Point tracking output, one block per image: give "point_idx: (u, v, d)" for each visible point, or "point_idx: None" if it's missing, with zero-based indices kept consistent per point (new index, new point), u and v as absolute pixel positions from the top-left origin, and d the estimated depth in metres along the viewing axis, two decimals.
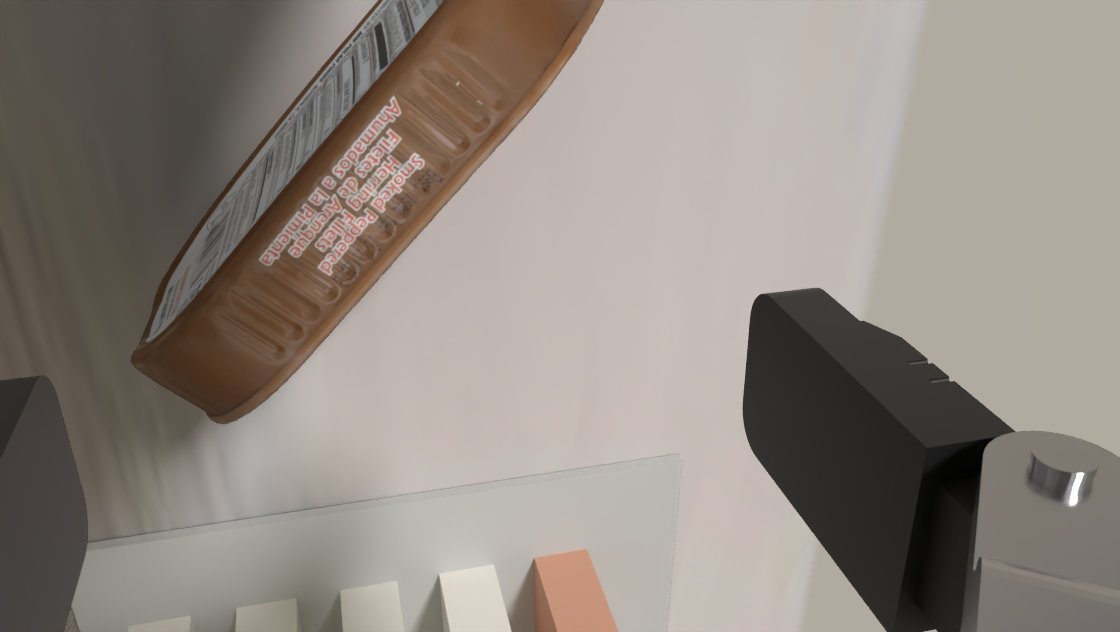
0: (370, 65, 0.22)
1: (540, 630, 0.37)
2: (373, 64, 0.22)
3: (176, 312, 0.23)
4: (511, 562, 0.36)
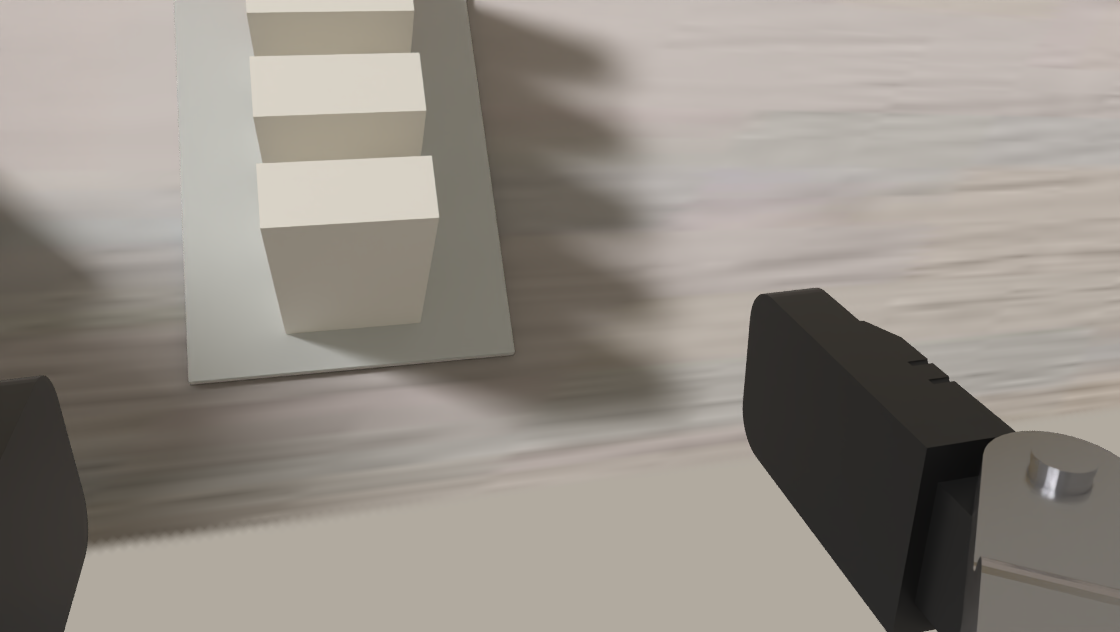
0: None
1: None
2: None
3: None
4: None
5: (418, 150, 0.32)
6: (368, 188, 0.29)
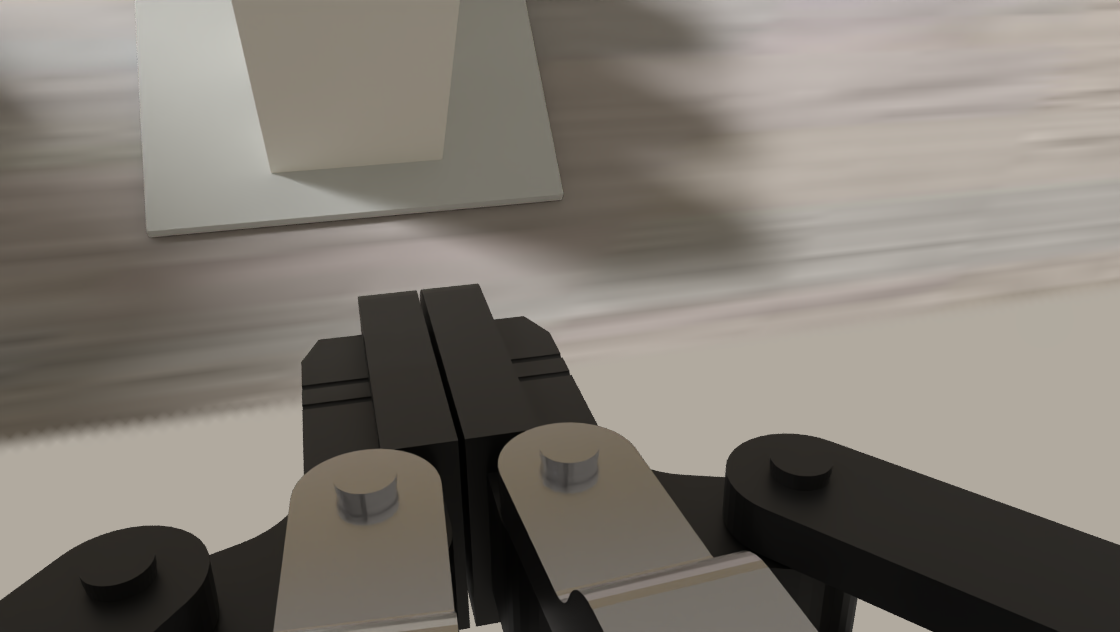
0: None
1: None
2: None
3: None
4: None
5: None
6: None
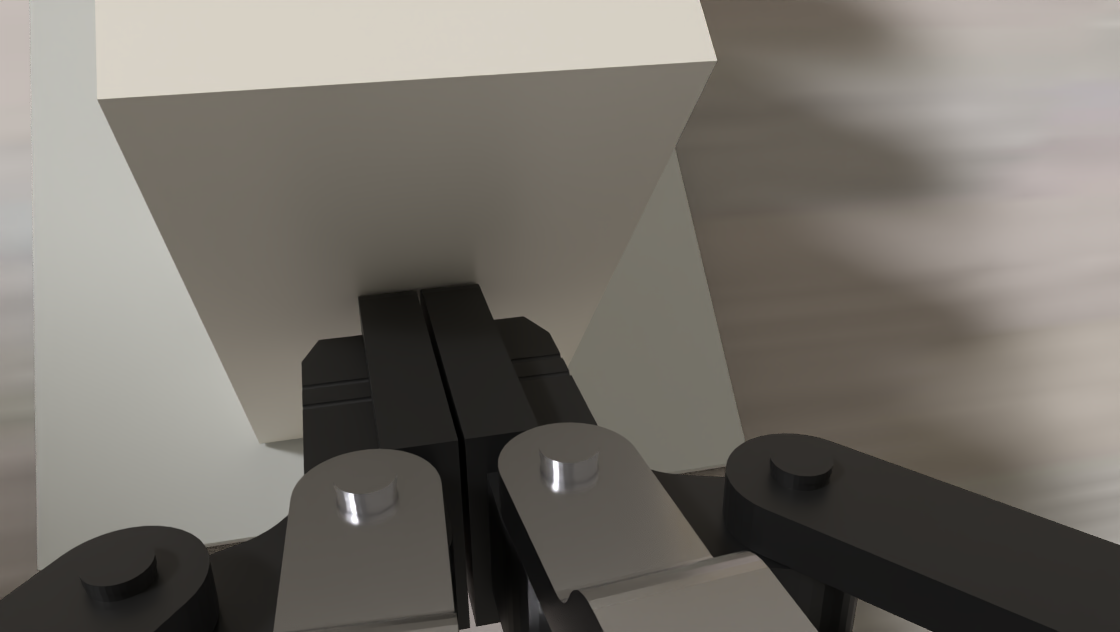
0: None
1: None
2: None
3: None
4: None
5: None
6: None
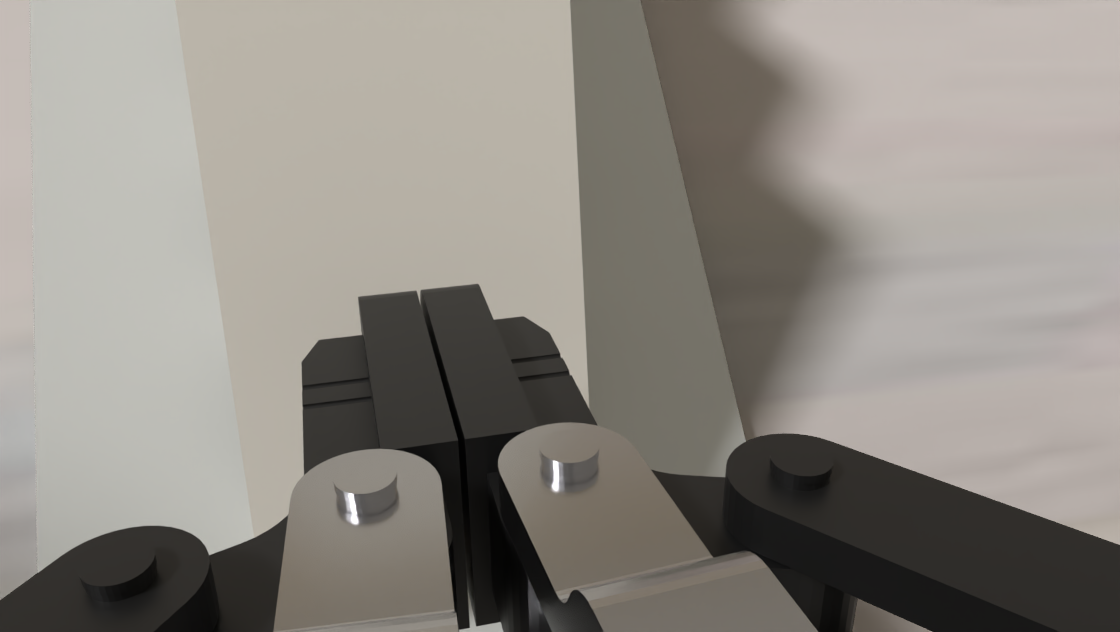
0: None
1: None
2: None
3: None
4: None
5: None
6: None
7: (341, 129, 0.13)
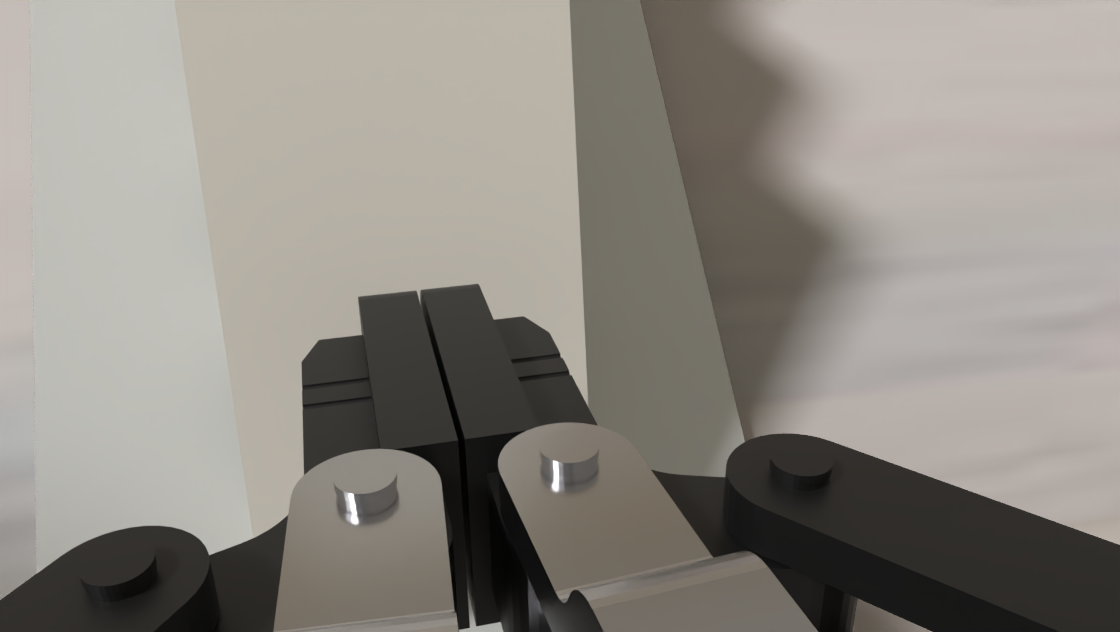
0: None
1: None
2: None
3: None
4: None
5: None
6: None
7: (340, 130, 0.13)
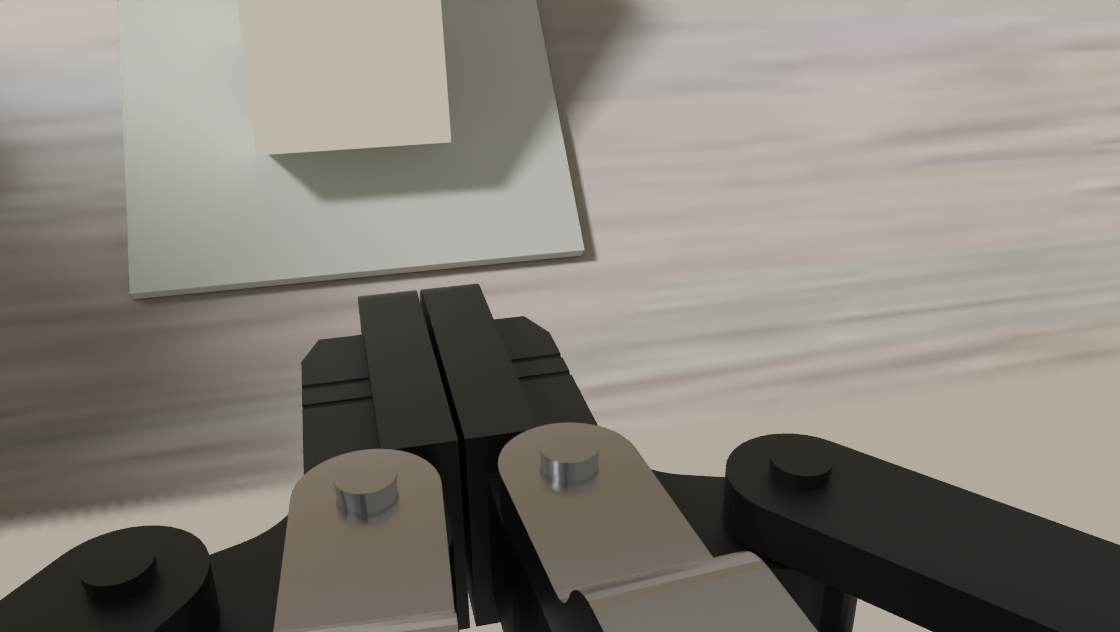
0: None
1: None
2: None
3: None
4: None
5: None
6: None
7: None
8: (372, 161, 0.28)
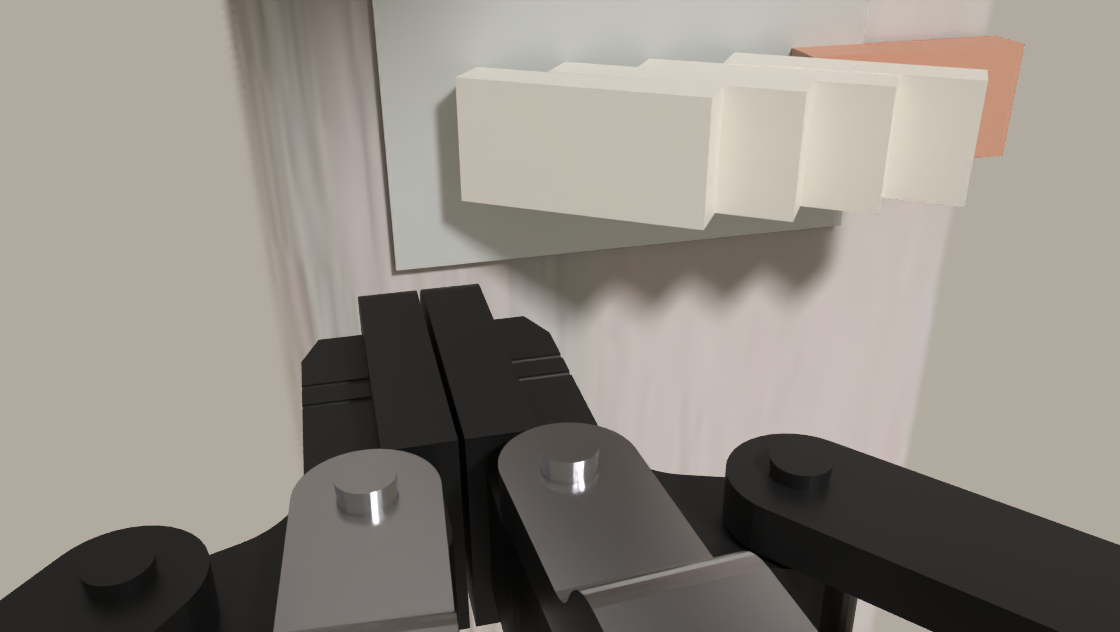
0: None
1: None
2: None
3: None
4: (727, 52, 0.42)
5: (727, 211, 0.39)
6: (712, 173, 0.37)
7: (617, 139, 0.37)
8: None
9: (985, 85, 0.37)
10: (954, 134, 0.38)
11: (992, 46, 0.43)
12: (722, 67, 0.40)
